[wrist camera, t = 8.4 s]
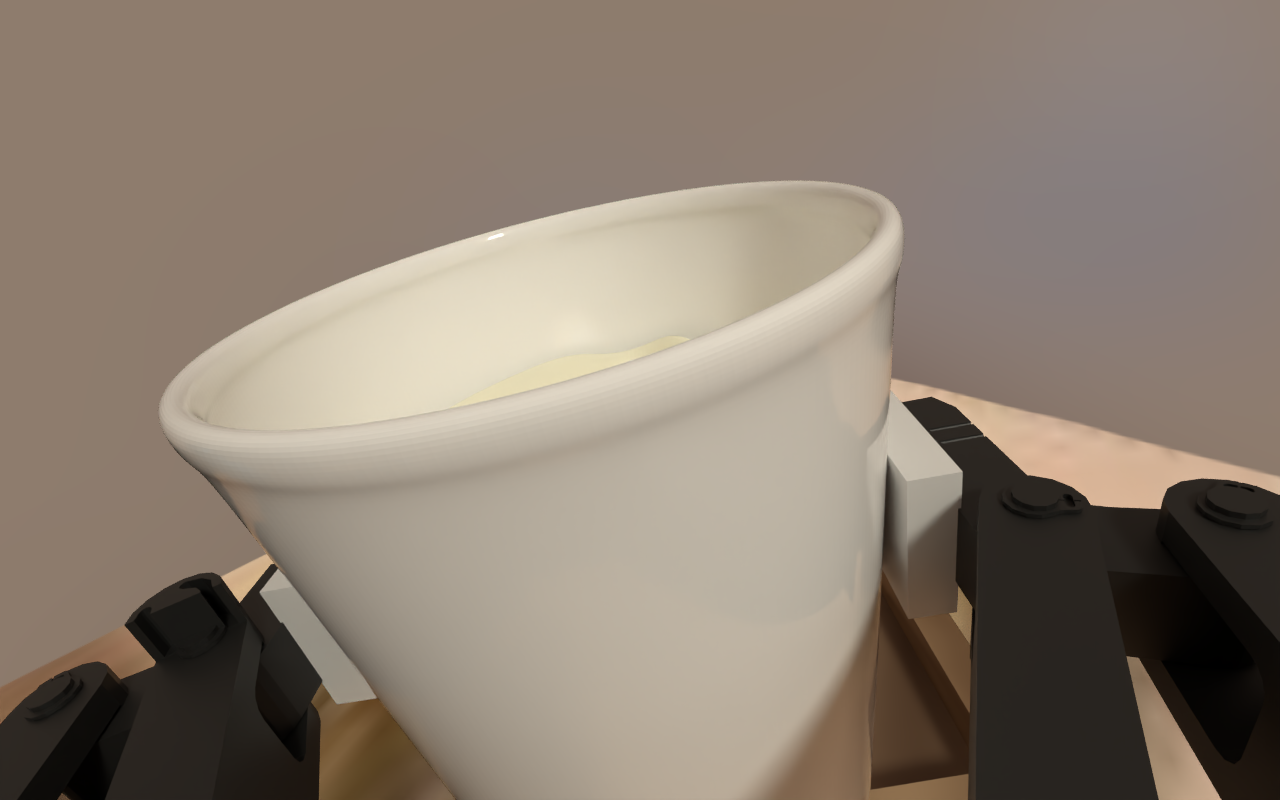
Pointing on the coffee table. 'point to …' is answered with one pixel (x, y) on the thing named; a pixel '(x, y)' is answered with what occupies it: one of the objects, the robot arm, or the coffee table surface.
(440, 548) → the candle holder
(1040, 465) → the coffee table surface
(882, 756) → the walnut tray
